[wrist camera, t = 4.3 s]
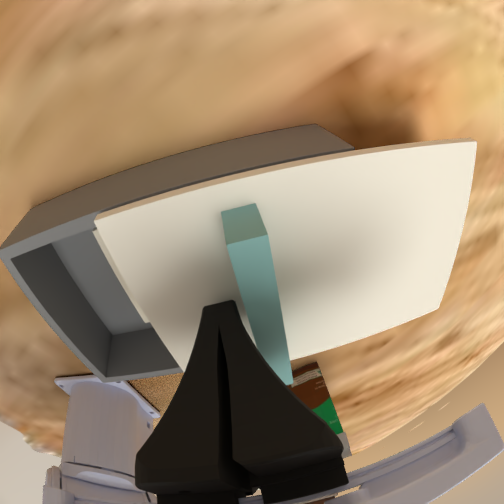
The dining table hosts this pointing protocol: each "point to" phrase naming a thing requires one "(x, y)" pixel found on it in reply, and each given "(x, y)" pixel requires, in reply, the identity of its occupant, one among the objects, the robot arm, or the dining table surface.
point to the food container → (318, 399)
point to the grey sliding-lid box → (101, 262)
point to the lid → (299, 247)
